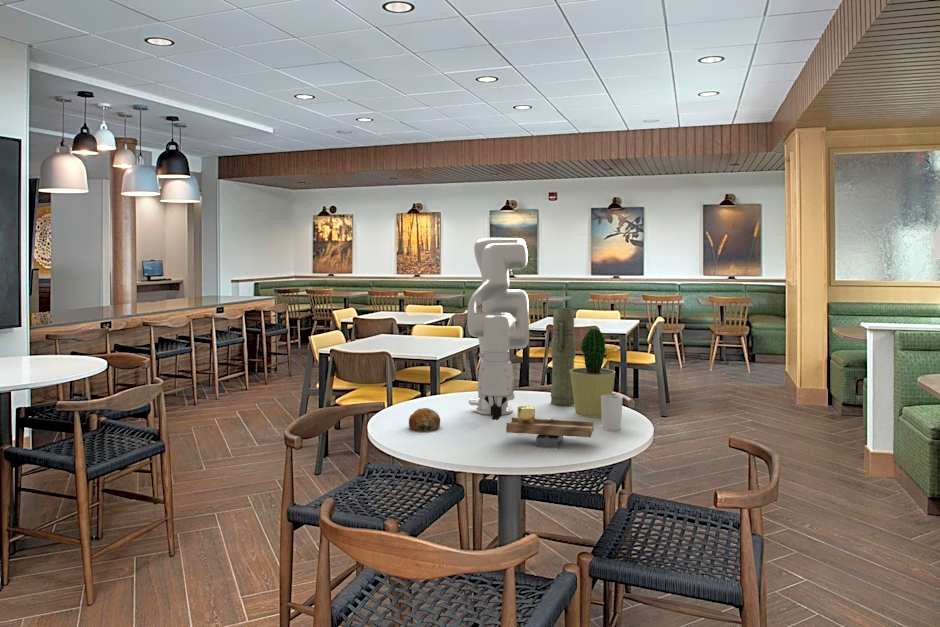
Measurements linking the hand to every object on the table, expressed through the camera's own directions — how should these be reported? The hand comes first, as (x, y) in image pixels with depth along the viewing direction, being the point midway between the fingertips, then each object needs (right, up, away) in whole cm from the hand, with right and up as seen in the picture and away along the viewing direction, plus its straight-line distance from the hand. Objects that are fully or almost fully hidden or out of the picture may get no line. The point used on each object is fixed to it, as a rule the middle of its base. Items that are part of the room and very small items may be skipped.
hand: (496, 418), depth 209 cm
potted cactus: (+34, -4, +35) cm, 49 cm away
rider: (+9, -1, -2) cm, 9 cm away
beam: (+15, -2, -4) cm, 16 cm away
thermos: (+26, -2, +52) cm, 59 cm away
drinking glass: (+37, -5, +13) cm, 39 cm away
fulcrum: (+15, -6, -4) cm, 17 cm away
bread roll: (-22, -5, +14) cm, 27 cm away
